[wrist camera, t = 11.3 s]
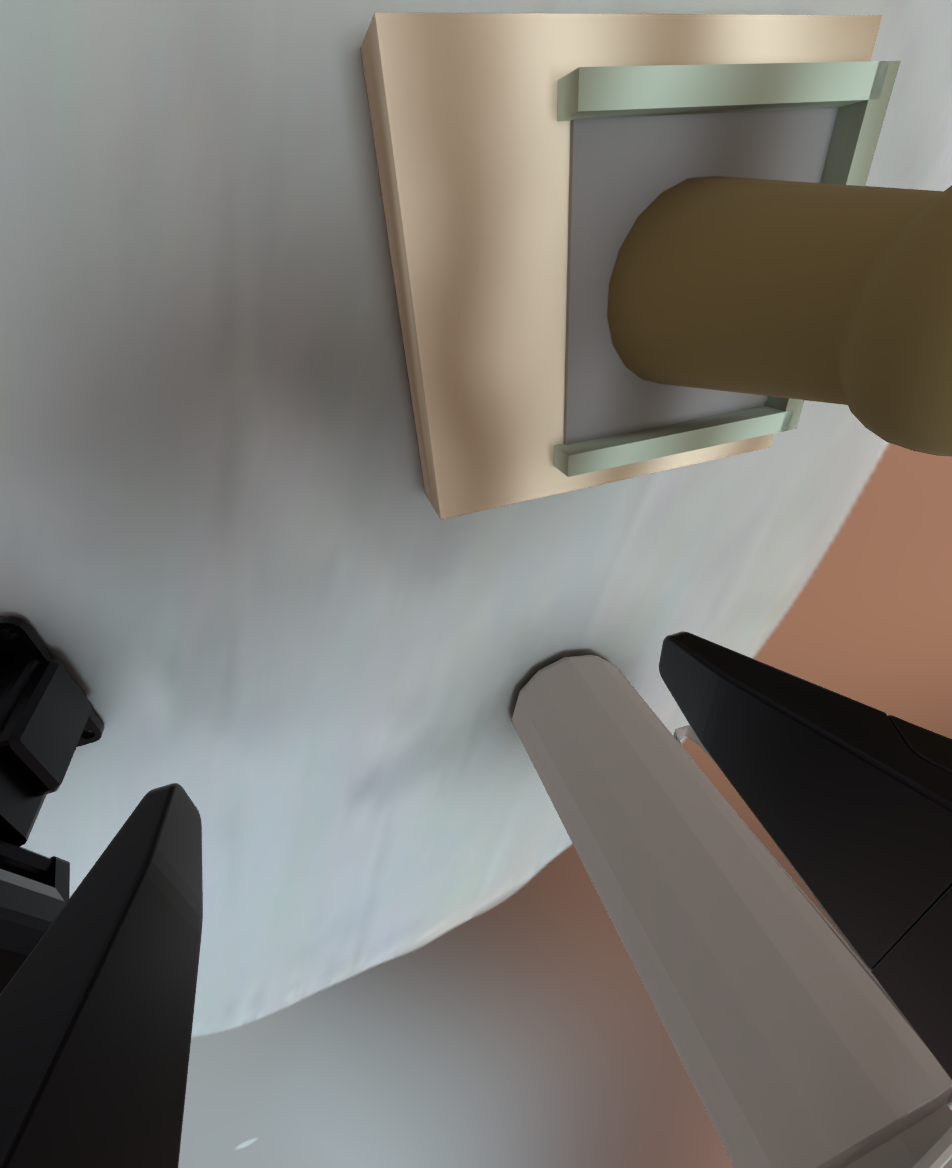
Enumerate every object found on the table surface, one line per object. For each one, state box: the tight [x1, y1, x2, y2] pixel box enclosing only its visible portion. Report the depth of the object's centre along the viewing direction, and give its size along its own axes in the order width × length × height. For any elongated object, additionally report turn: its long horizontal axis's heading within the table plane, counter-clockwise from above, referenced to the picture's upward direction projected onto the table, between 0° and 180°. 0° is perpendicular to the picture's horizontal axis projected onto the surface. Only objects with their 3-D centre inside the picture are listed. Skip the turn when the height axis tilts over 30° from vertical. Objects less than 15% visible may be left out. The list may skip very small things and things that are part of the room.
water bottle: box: [512, 655, 952, 1168], centre depth 21 cm, size 9×8×25 cm
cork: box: [607, 176, 952, 456], centre depth 13 cm, size 6×6×11 cm
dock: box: [361, 12, 900, 519], centre depth 17 cm, size 15×13×4 cm
